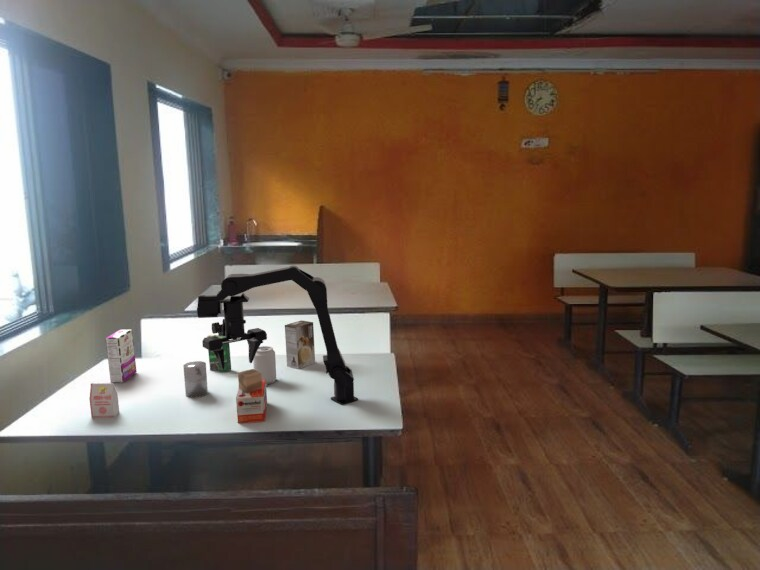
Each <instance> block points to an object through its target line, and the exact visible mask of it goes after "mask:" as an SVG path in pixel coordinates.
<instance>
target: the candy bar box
mask: <svg viewBox="0 0 760 570" xmlns="http://www.w3.org/2000/svg"><path fill="white" fill-rule="evenodd" d="M105 346H106V352H107V353H106V354H107V360H108V363H107V364H108V370H109V372H108V373H109V379H110V383H114V384H115V383H118V384H119V383H125V382H126V381H127V380H129V379H130V378H131V377H132V376H134V375H135V374H136V373H137V365H136V364H137V363H136V355H135V346H134V336H133V329H123V328H122V329H119V330H117V331H115V332H114V333H112V334H110V335H109V336H107V337H105Z"/></svg>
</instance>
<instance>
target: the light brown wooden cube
mask: <svg viewBox="0 0 760 570" xmlns="http://www.w3.org/2000/svg"><path fill="white" fill-rule="evenodd" d="M237 378H238V379H237V380H238V388H239V389H241V390H243V391H244V392H246V393H249V392H252V391H256V390H260V389H262V378H261V373H260V372H258V371H256V370H254V368H251V369H247V370H246V369H245V370H242V371H239V372H237Z"/></svg>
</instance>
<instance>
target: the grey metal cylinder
mask: <svg viewBox="0 0 760 570" xmlns="http://www.w3.org/2000/svg"><path fill="white" fill-rule="evenodd" d="M182 366H183V377H184V378H183V380H184V389H185V390H184V391H185V396H186V397H187V398H189V399H190V398H191V399H194V398H195V399H196V398H202V397H204V396H206V395H207V394H208V392H209V390H208V388H209V386H208V376H207V375H208V374H207V363H206V361H205V362H204V361H202V360H201V361H200V360H196V361H190V362H186V363H185V364H183V365H182Z"/></svg>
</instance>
